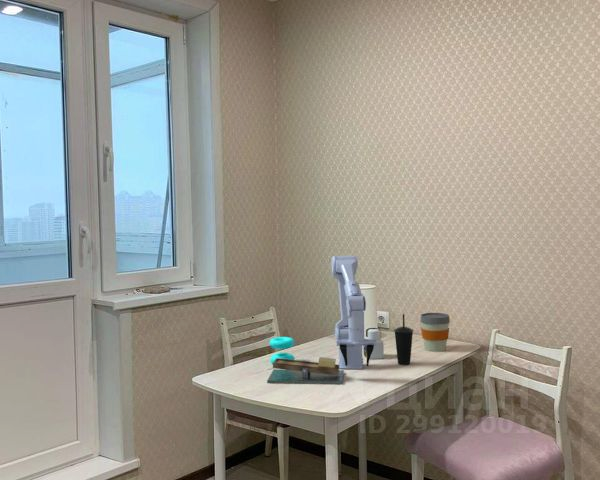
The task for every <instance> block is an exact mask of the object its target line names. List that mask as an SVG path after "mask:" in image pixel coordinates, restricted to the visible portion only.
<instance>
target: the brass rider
mask: <svg viewBox="0 0 600 480" xmlns="http://www.w3.org/2000/svg"><path fill="white" fill-rule="evenodd" d="M335 364H336V358H333V357H321V356H320V357H319V358H318V367H323V368H332V369H335Z"/></svg>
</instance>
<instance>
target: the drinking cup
mask: <svg viewBox="0 0 600 480" xmlns="http://www.w3.org/2000/svg"><path fill="white" fill-rule="evenodd" d="M393 331H394V337H395V348H396V357H397V365H400V366H409V365H411V357H412V345H413V334H414V329H413V328H410V327H409V326H406V325H405V313H402V326H399V327H395V328H394V329H393Z"/></svg>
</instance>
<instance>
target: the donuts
mask: <svg viewBox="0 0 600 480" xmlns="http://www.w3.org/2000/svg"><path fill="white" fill-rule="evenodd" d="M294 344H295V340H294V338H292V337H288V336H276V337H273V338H271V339H270V341H269V346H270V347H271V348H273V349H276V350H286V349H287V350H288V349H290V348H292V347H293V346H294ZM276 358H281V359H290V360H296V358H295V356H294V355H293V354H292V353H288V352H277V353H274V354H273V355H272V356H271V357H270V358H269V362H270V363H271V364H272V365H273V362H274V360H275V359H276Z"/></svg>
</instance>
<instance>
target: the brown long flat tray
mask: <svg viewBox="0 0 600 480" xmlns="http://www.w3.org/2000/svg"><path fill="white" fill-rule="evenodd" d="M309 361H310V360H298V359H295V360H290V359H281V358H276V359H275V360H274V362H273V364H272V369H277V370H294V371H302V367H307V368H308V372H312V373H321V374H330V375H338V373H339V370H340V369H339V365H338V364H336V363H335V369H332V368H323V367H318V363H319V361H318V362H317V361H310V362H309Z"/></svg>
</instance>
